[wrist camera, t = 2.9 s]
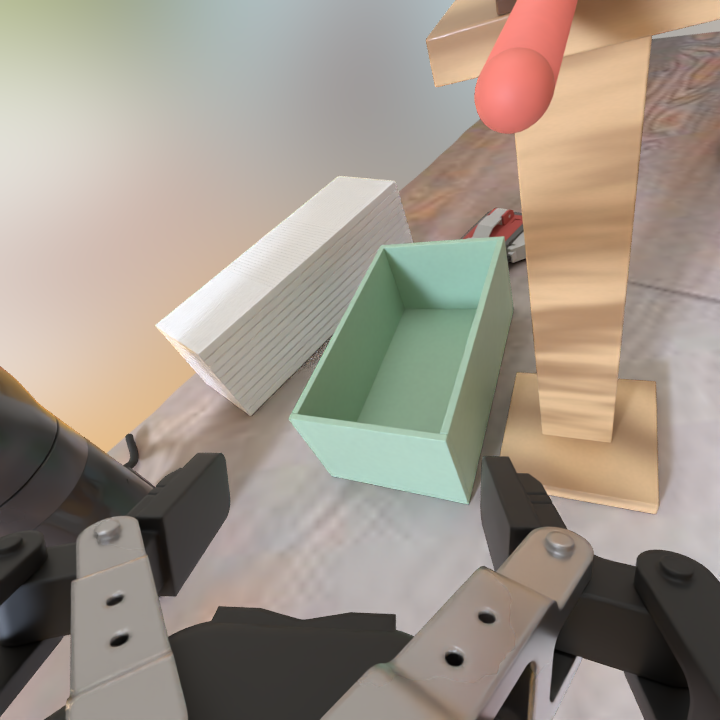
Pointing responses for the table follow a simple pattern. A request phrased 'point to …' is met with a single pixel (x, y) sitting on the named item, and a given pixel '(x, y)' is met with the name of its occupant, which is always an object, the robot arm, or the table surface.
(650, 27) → the stand
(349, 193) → the stack of papers
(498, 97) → the straw
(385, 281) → the bin
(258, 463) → the table surface
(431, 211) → the table surface
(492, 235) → the walkie-talkie
